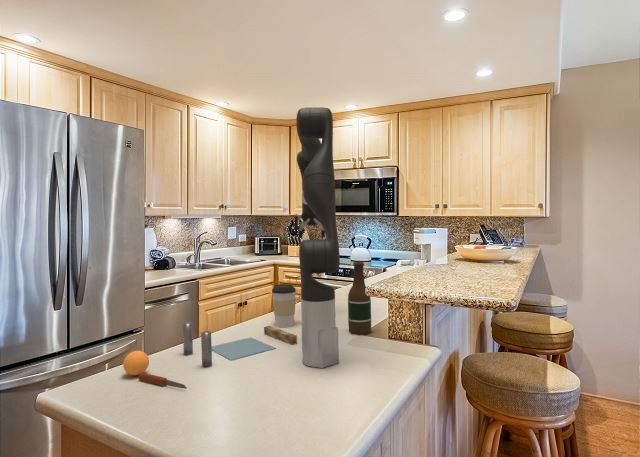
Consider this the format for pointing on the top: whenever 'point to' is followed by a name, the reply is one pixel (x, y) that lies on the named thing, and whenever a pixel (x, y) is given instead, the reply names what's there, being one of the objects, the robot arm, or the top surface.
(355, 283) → the beer bottle
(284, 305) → the coffee cup
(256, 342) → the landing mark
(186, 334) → the left post
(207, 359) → the right post
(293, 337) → the wall
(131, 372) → the ball
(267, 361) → the top surface
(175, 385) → the kitchen knife
